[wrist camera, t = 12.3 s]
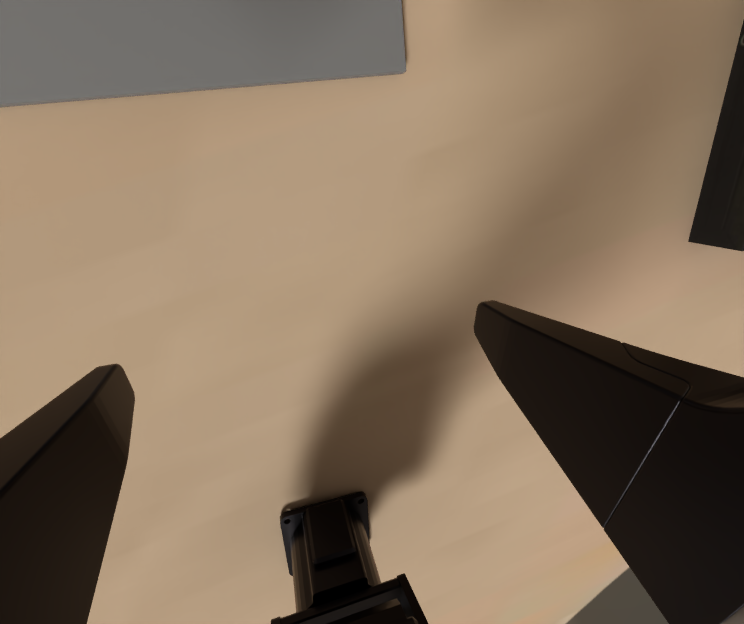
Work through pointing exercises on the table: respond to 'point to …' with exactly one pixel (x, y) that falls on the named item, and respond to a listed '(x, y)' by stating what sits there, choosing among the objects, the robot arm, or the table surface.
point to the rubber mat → (189, 45)
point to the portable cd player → (725, 170)
